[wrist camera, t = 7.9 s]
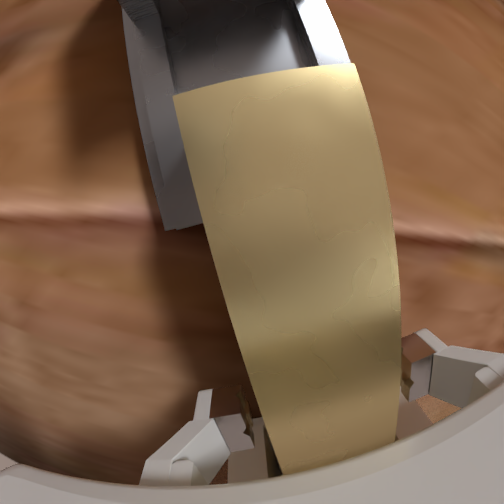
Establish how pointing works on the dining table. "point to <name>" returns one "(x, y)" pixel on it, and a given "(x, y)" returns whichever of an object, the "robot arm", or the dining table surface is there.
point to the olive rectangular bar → (302, 254)
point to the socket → (266, 463)
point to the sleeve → (210, 69)
